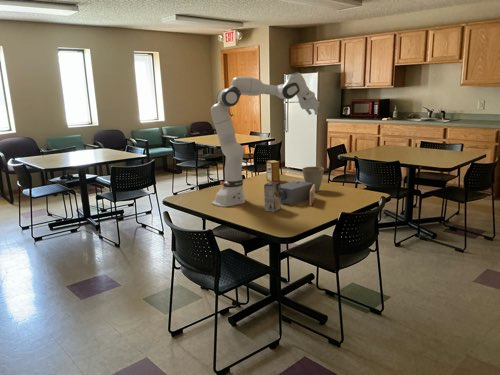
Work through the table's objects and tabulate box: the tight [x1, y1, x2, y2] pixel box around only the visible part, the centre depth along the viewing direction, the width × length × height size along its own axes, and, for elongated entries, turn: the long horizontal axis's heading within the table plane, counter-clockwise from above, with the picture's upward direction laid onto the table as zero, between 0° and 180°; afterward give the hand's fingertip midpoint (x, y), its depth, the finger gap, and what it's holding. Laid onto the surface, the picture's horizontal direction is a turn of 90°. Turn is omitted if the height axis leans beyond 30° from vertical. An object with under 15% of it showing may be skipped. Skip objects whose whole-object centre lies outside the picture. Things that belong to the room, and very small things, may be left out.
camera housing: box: [280, 180, 313, 206], centre depth 262 cm, size 24×14×11 cm, turn 135°
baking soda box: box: [265, 160, 281, 183], centre depth 319 cm, size 10×6×16 cm
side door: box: [309, 184, 316, 206], centre depth 255 cm, size 20×2×9 cm, turn 165°
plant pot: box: [301, 166, 325, 193], centre depth 284 cm, size 15×15×16 cm
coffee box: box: [263, 182, 282, 213], centre depth 242 cm, size 9×6×16 cm
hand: (313, 114), depth 268 cm, fingers open, 8 cm apart
